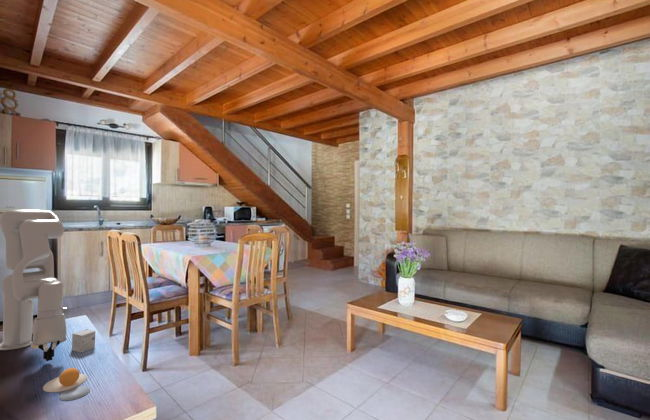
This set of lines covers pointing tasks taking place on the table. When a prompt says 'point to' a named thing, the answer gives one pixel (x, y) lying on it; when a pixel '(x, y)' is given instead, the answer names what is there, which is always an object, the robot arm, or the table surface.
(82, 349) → the skincare box
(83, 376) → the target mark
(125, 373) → the table surface
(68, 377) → the ball
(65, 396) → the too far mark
